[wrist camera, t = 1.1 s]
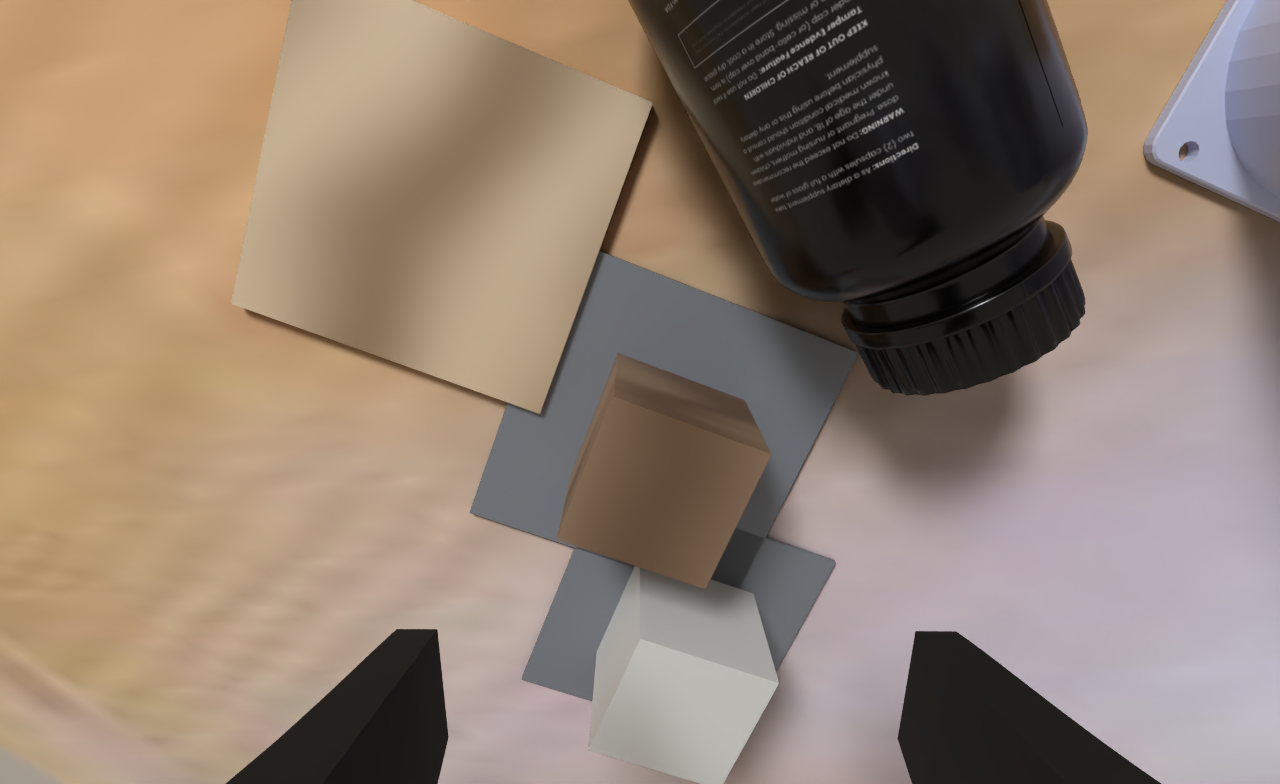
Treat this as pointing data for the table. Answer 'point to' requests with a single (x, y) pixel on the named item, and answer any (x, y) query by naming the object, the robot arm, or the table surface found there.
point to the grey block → (680, 677)
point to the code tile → (681, 344)
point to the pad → (432, 193)
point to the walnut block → (663, 473)
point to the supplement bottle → (895, 167)
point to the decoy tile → (598, 583)
